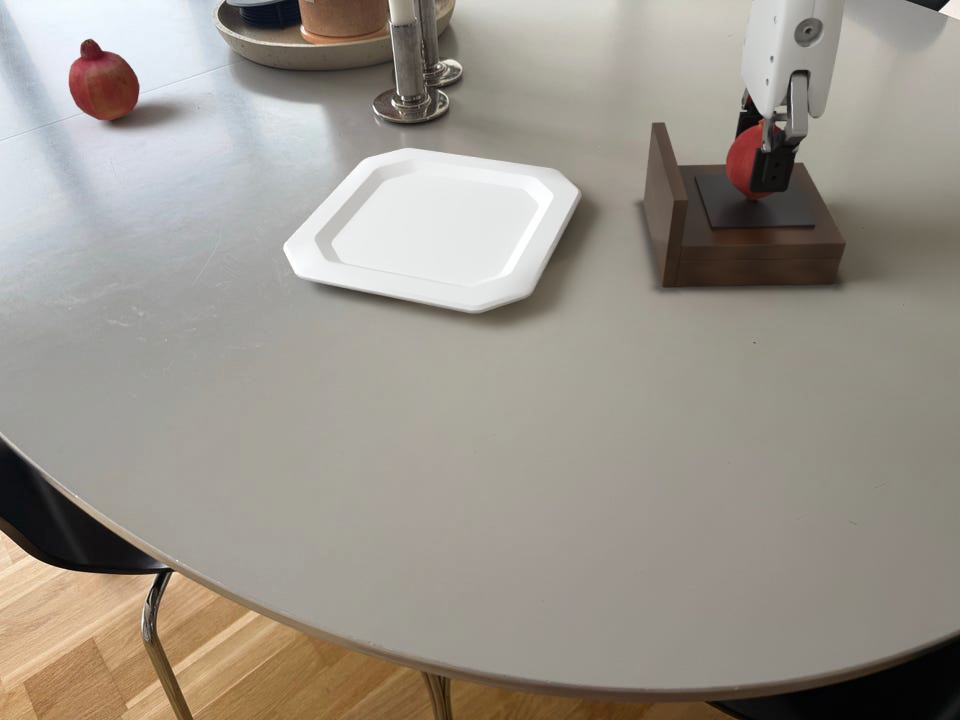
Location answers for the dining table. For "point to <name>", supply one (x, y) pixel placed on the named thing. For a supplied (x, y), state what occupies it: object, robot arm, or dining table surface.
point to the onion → (745, 159)
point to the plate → (437, 229)
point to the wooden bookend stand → (735, 226)
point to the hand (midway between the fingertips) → (759, 169)
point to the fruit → (103, 83)
